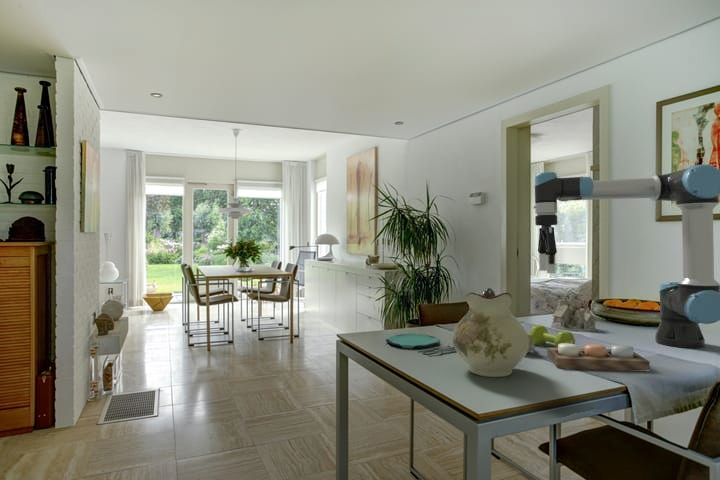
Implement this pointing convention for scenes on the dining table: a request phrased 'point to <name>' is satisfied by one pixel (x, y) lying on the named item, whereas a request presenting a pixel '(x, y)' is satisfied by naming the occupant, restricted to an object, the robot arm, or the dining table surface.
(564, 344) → the cream button
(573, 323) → the ceramic cottage
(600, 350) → the terracotta button
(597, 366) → the wooden compartment tray
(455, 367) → the dining table surface
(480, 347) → the pitcher
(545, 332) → the dumbbell
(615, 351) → the grey button
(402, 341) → the cutlery set
